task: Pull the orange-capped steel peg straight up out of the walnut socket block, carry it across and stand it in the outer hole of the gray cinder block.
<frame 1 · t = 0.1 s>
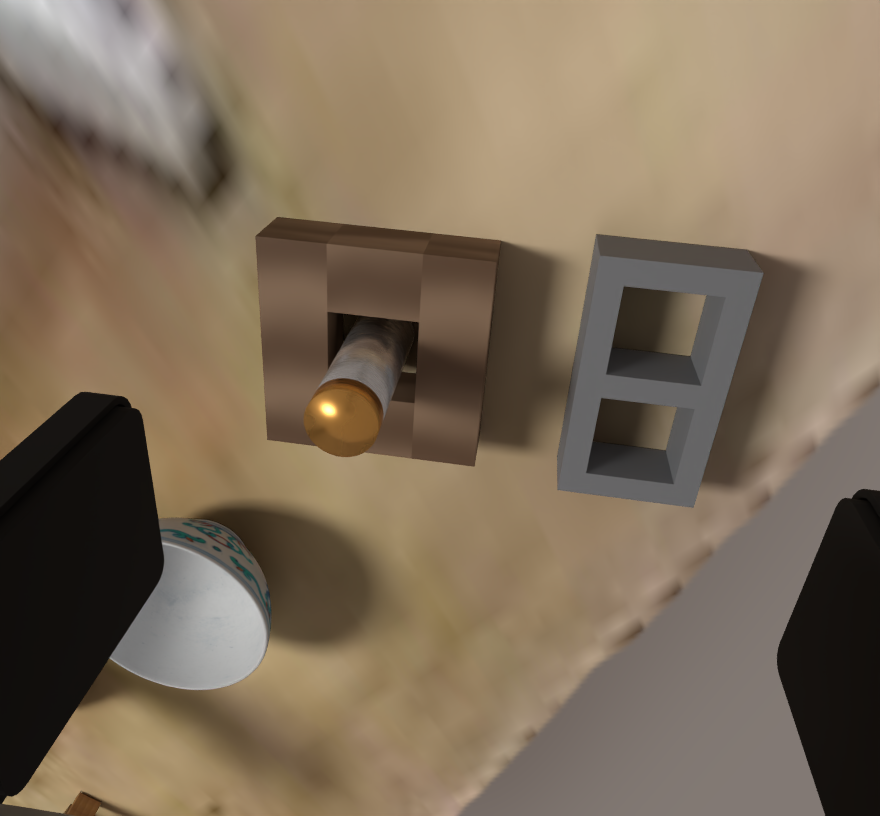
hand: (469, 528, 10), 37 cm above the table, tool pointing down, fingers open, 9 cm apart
socket block: (384, 332, 50), on the table
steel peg: (365, 373, 45), in the socket block
chinaware: (210, 549, 62), on the table
gray cinder block: (643, 362, 48), on the table
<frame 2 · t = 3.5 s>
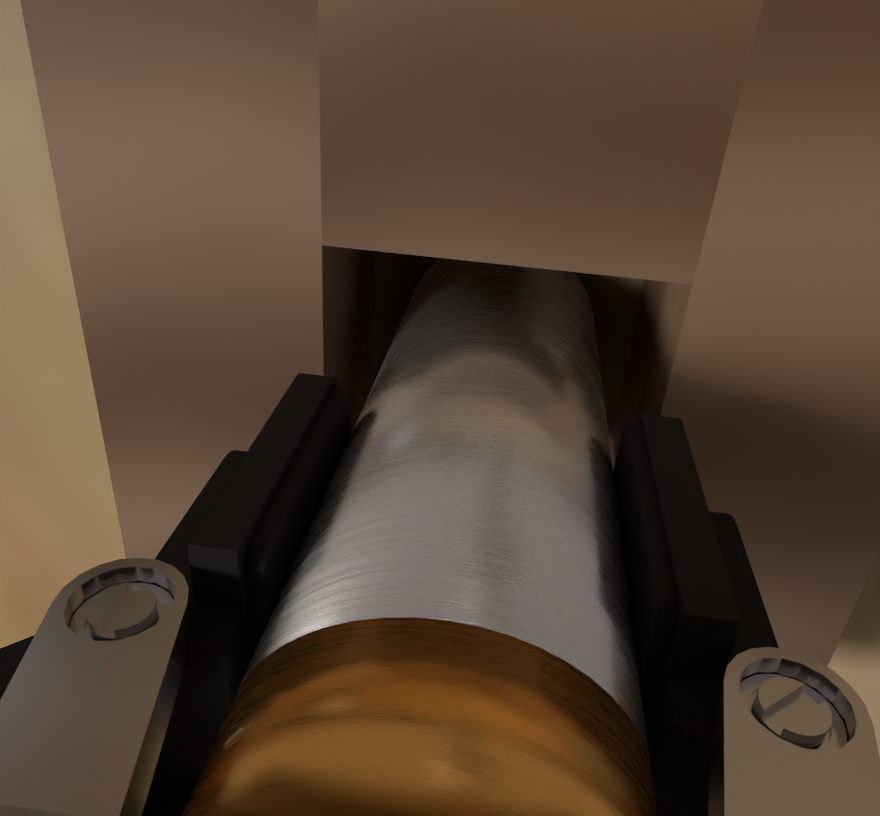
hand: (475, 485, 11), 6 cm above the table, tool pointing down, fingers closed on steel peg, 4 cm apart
socket block: (499, 328, 16), on the table
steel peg: (475, 493, 11), in the socket block, touching gripper
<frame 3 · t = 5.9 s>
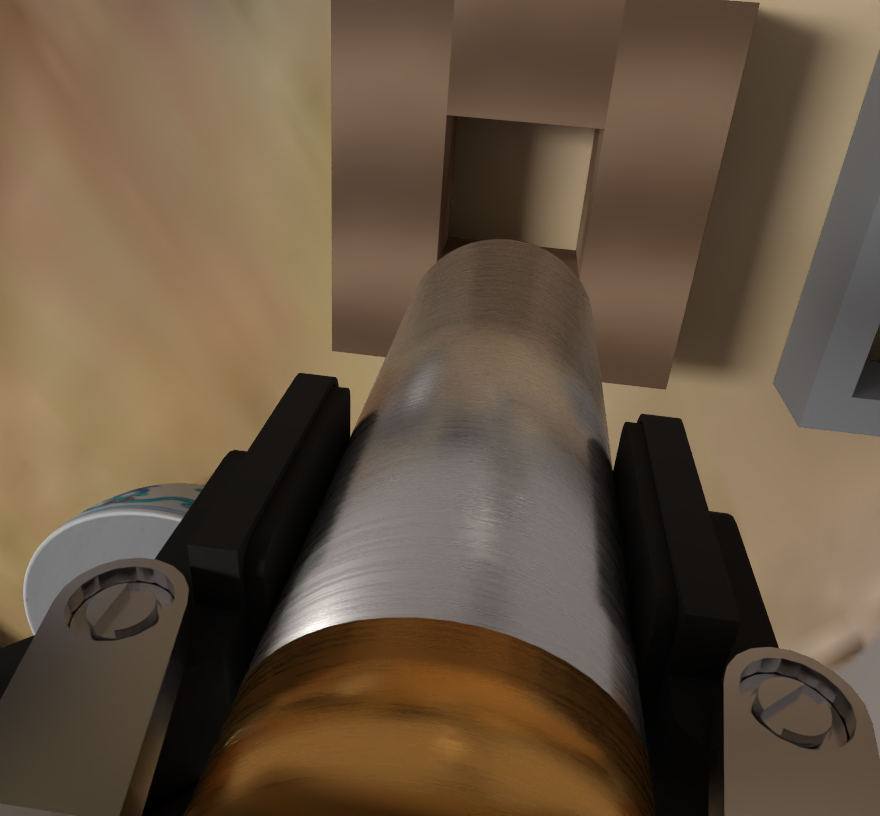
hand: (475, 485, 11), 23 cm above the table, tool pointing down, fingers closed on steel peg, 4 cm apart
socket block: (519, 178, 31), on the table
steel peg: (475, 493, 11), point 23 cm above the table, touching gripper
chinaware: (232, 535, 43), on the table
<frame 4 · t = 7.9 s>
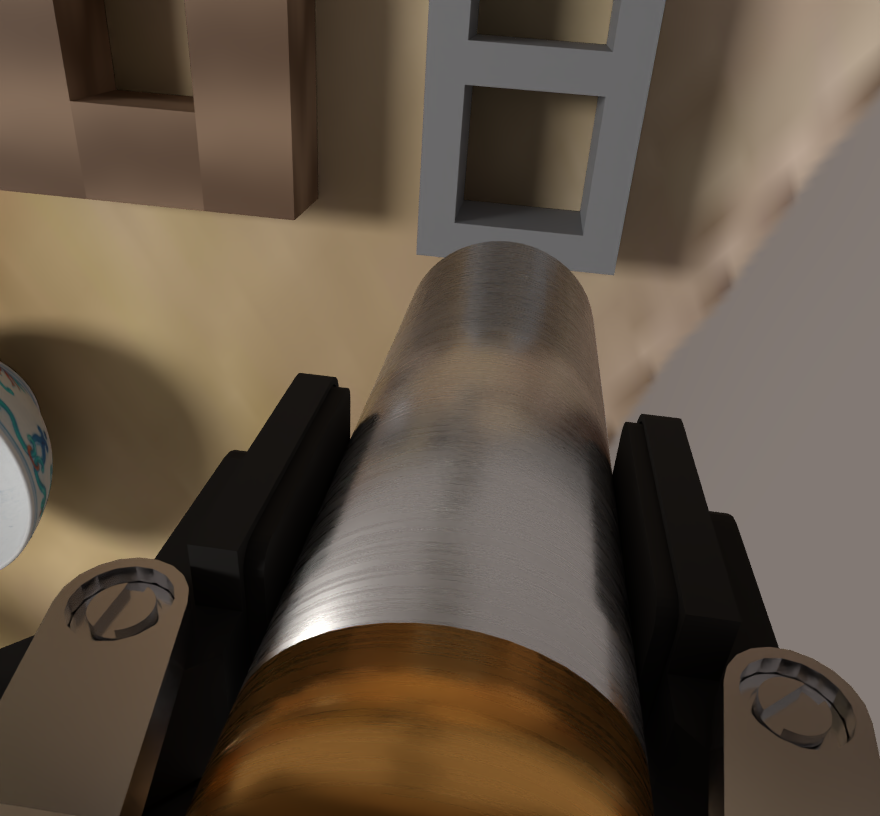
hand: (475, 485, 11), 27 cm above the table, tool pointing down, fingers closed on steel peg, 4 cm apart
socket block: (165, 28, 34), on the table
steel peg: (474, 496, 11), point 27 cm above the table, touching gripper
gray cinder block: (538, 59, 33), on the table
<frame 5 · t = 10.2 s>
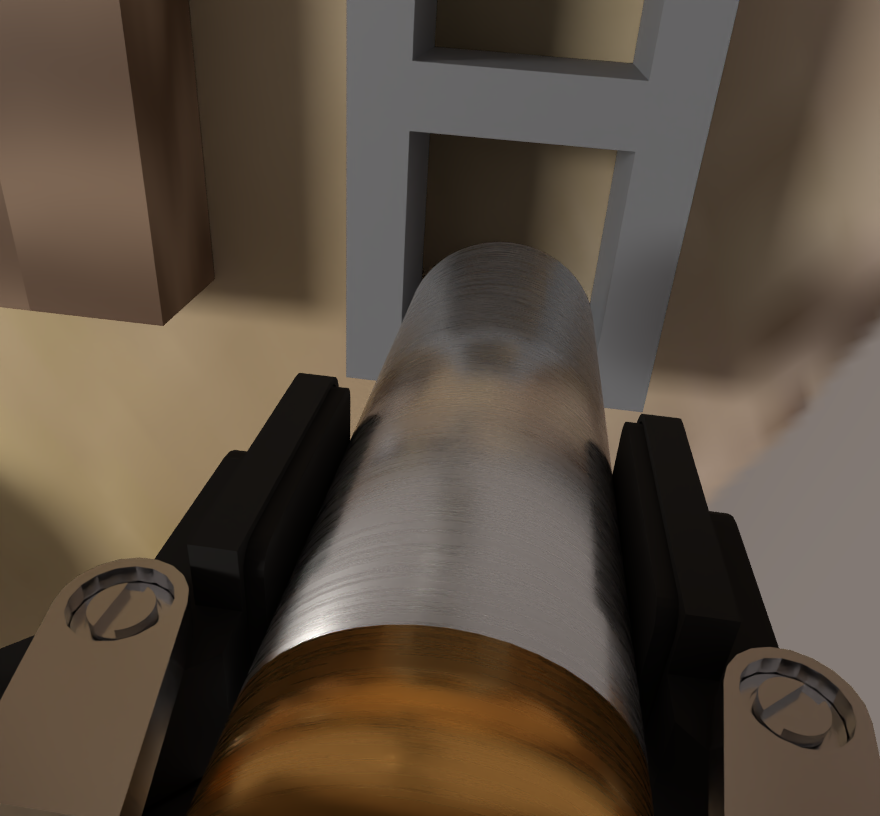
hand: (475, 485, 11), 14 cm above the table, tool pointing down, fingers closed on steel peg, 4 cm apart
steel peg: (474, 497, 11), point 15 cm above the table, touching gripper
gray cinder block: (529, 85, 22), on the table
when the fingers open (7 cm above the table, at t = 12.4 s): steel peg drops 1 cm, resting in gray cinder block.
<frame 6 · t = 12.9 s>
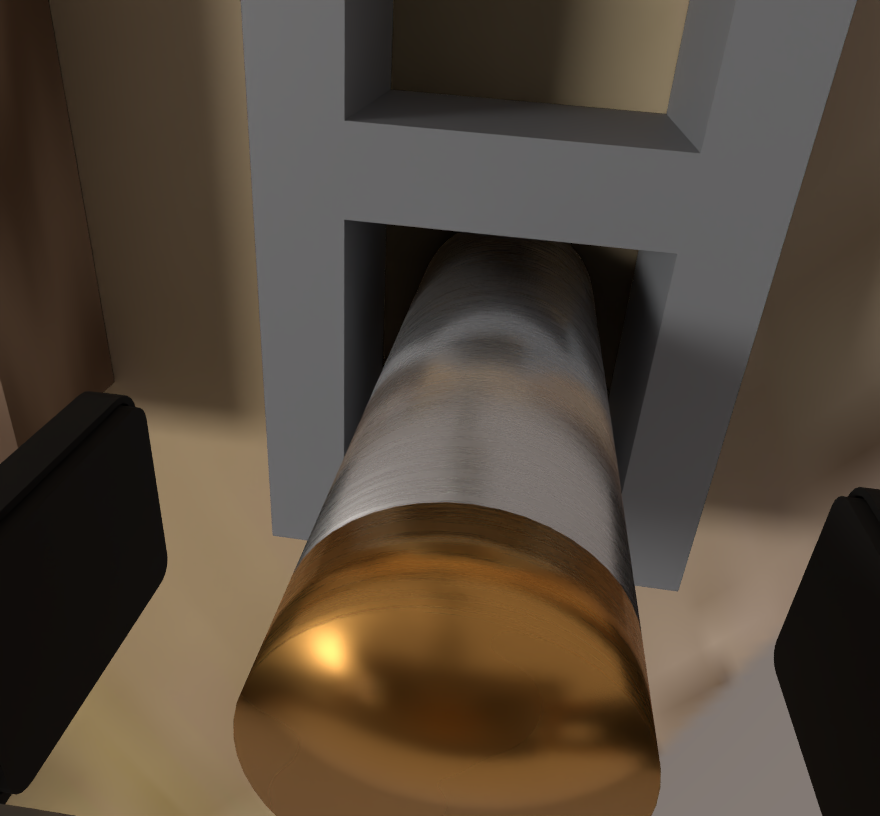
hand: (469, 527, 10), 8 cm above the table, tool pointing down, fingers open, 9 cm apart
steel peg: (486, 438, 12), in the gray cinder block
gray cinder block: (521, 142, 16), on the table
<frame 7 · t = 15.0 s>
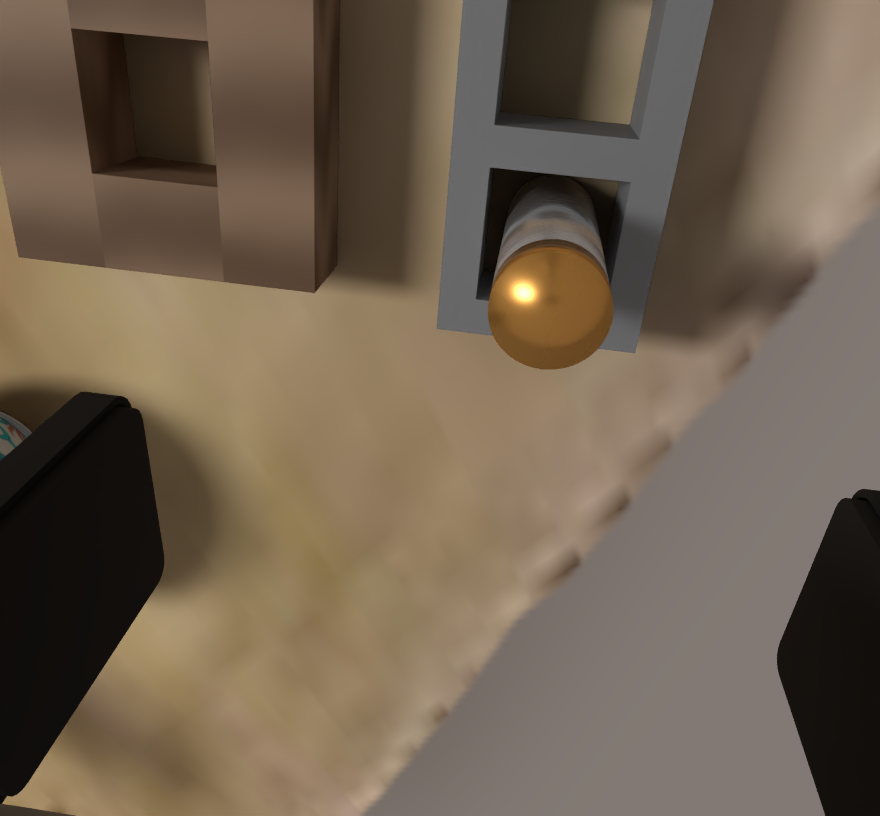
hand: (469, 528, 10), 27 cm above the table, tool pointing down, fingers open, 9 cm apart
socket block: (188, 99, 34), on the table
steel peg: (550, 257, 29), in the gray cinder block
chinaware: (0, 453, 46), on the table
gray cinder block: (561, 137, 33), on the table
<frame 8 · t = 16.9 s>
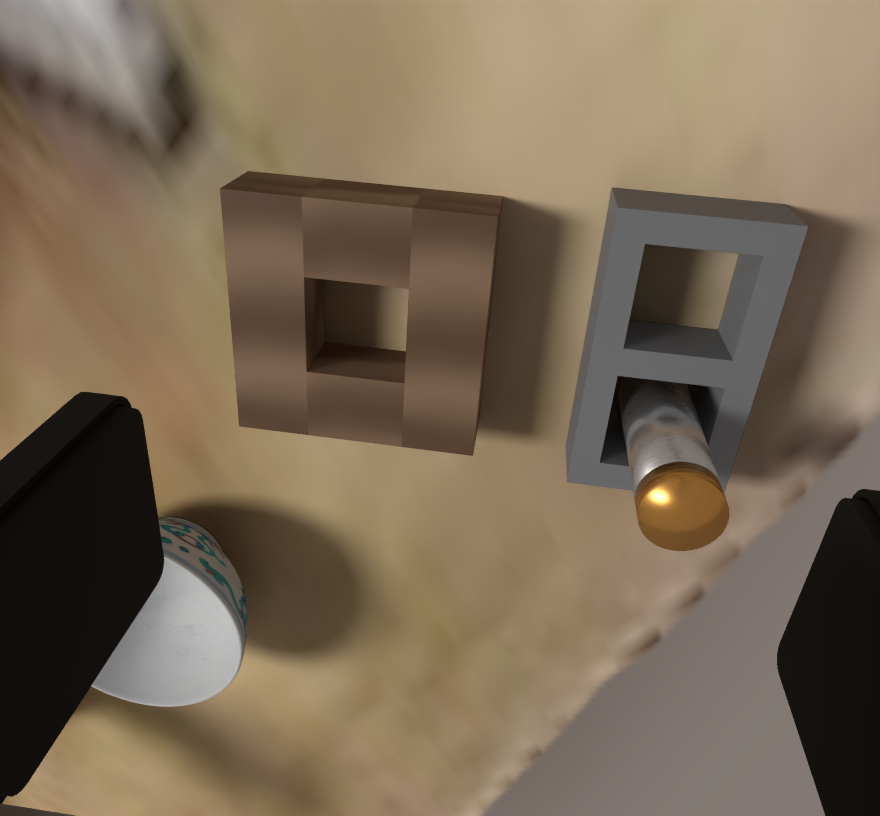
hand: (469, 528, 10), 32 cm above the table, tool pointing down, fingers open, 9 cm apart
socket block: (371, 304, 44), on the table
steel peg: (665, 446, 39), in the gray cinder block
chinaware: (182, 550, 56), on the table
gray cinder block: (664, 337, 43), on the table
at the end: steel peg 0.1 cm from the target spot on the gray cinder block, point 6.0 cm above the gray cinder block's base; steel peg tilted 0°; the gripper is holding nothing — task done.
